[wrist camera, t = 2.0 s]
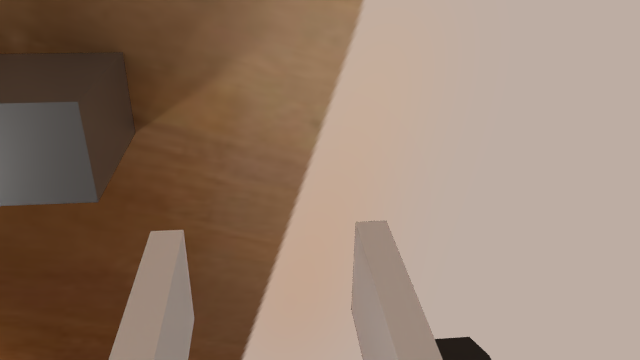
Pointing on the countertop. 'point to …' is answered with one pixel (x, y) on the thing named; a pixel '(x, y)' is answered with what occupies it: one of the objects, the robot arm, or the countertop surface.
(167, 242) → the robot arm
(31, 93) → the grey rectangular block
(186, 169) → the countertop surface
